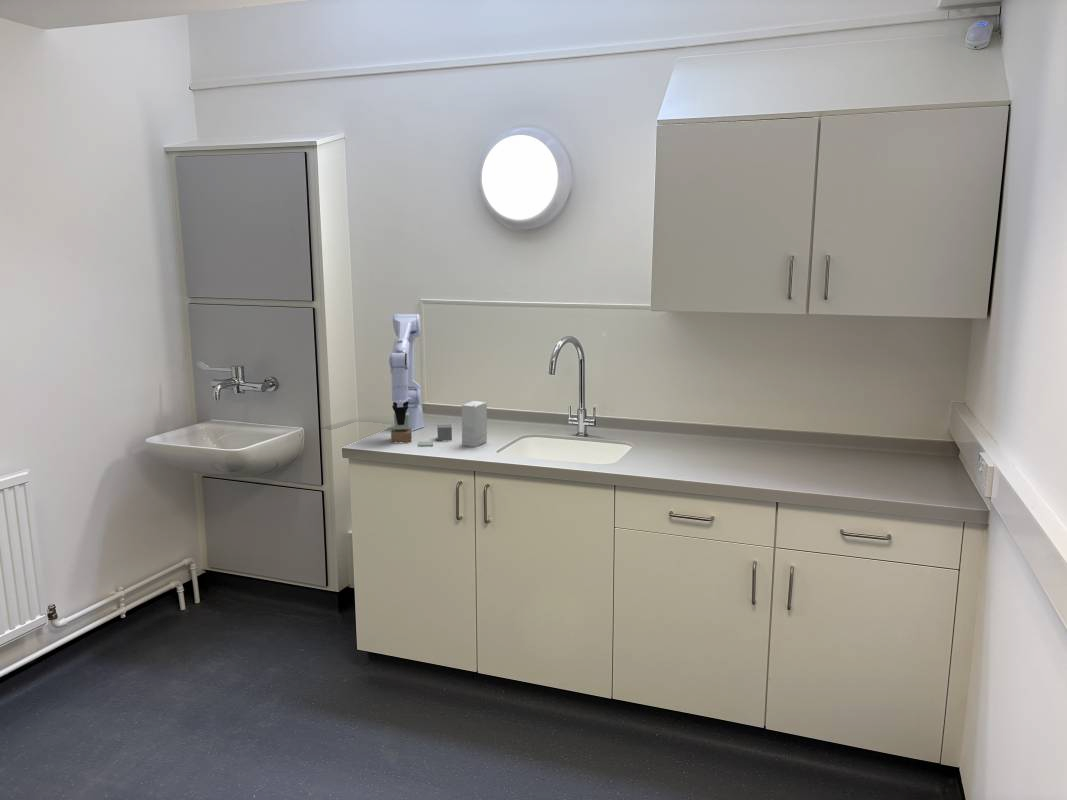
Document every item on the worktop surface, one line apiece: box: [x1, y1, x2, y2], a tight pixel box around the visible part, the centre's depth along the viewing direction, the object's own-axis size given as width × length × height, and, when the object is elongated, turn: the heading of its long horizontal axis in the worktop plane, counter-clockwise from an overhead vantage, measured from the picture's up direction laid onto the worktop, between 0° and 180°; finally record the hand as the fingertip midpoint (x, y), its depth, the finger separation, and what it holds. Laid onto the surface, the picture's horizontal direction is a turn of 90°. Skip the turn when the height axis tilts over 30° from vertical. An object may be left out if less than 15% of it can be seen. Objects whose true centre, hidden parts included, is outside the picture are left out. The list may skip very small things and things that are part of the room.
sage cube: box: [393, 412, 409, 429], centre depth 280 cm, size 5×5×5 cm
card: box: [418, 440, 434, 447], centre depth 275 cm, size 5×5×1 cm
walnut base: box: [390, 428, 413, 444], centre depth 281 cm, size 7×7×4 cm
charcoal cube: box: [436, 423, 453, 442], centre depth 283 cm, size 5×5×5 cm
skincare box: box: [461, 400, 488, 448], centre depth 275 cm, size 8×6×15 cm
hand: (401, 423), depth 280 cm, fingers closed on sage cube, 5 cm apart
